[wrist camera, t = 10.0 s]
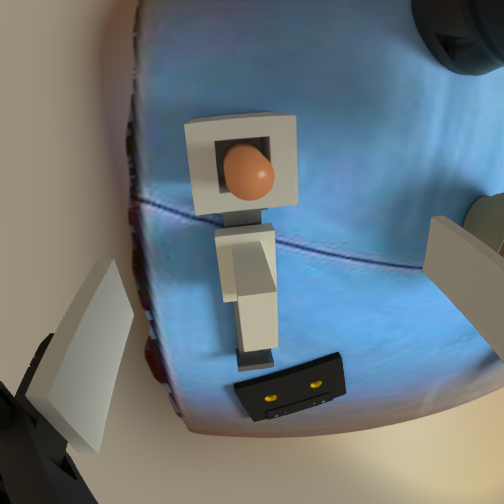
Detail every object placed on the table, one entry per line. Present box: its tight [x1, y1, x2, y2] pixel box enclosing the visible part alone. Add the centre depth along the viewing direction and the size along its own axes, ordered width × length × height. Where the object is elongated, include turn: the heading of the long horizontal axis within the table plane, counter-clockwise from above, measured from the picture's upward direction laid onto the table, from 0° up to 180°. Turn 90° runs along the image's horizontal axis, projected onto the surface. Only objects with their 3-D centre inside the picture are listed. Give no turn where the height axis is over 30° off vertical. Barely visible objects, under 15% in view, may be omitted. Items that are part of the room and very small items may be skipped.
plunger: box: [223, 142, 275, 201], centre depth 21 cm, size 3×3×6 cm
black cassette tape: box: [234, 352, 346, 422], centre depth 49 cm, size 18×12×2 cm, turn 106°
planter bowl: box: [463, 193, 504, 258], centre depth 34 cm, size 16×16×11 cm
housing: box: [184, 112, 298, 216], centre depth 26 cm, size 7×8×10 cm
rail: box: [217, 208, 274, 372], centre depth 37 cm, size 24×5×4 cm, turn 4°
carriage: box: [214, 223, 278, 352], centre depth 29 cm, size 8×6×11 cm
